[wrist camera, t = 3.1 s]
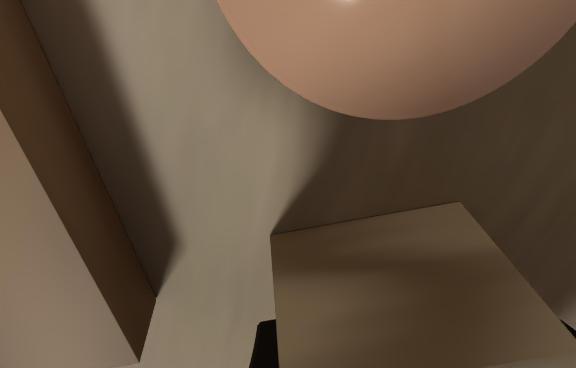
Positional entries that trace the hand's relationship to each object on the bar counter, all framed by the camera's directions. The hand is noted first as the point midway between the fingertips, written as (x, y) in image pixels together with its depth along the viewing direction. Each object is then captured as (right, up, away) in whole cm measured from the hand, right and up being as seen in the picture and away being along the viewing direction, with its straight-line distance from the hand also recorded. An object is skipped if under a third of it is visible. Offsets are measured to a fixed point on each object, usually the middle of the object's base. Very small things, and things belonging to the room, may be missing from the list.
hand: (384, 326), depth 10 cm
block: (0, +1, +1) cm, 1 cm away
